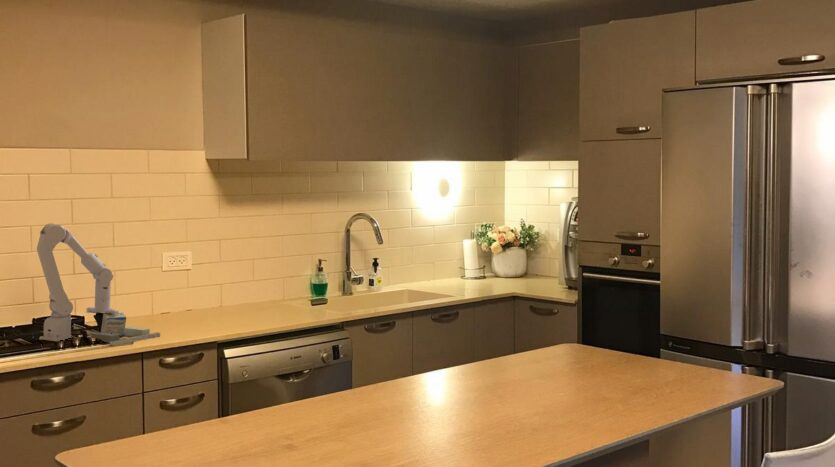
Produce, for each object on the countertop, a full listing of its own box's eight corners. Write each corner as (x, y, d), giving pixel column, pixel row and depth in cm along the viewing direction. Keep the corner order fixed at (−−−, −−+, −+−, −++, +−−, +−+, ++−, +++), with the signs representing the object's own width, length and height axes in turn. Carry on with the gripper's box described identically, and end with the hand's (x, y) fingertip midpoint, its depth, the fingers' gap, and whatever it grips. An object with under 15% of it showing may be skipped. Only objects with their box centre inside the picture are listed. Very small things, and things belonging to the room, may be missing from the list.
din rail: (113, 345, 339) (113, 341, 339) (109, 345, 340) (109, 341, 340) (160, 336, 363) (160, 332, 363) (157, 335, 364) (157, 332, 364)
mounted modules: (111, 343, 343) (111, 335, 343) (91, 341, 347) (91, 333, 347) (149, 336, 362) (149, 328, 362) (129, 333, 366) (130, 326, 366)
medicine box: (103, 338, 354) (106, 318, 352) (100, 332, 358) (103, 312, 355) (123, 336, 359) (126, 317, 356) (120, 331, 362) (123, 311, 360)
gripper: (124, 298, 359) (123, 332, 359) (96, 295, 365) (95, 329, 365) (111, 300, 352) (110, 335, 353) (82, 297, 358) (82, 331, 359)
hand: (101, 332), depth 359 cm, fingers closed
